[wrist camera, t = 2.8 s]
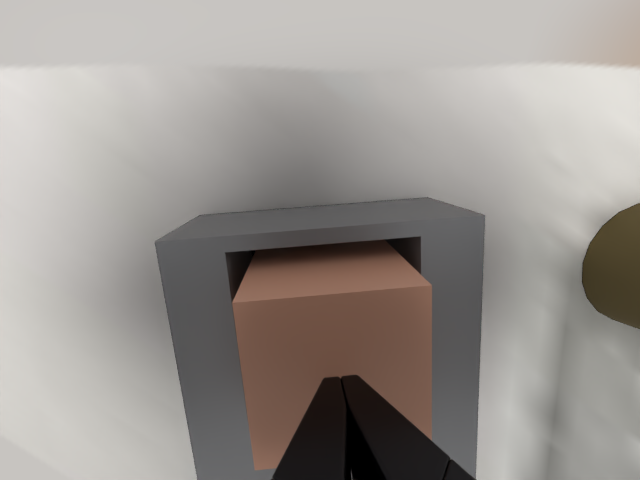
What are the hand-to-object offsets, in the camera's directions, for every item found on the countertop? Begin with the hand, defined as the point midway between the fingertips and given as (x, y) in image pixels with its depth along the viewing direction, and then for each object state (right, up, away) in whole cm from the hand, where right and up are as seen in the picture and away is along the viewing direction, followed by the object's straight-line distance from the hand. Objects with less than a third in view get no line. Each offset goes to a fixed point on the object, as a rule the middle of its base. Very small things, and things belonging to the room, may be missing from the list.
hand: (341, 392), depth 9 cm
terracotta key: (0, +1, +6) cm, 6 cm away
